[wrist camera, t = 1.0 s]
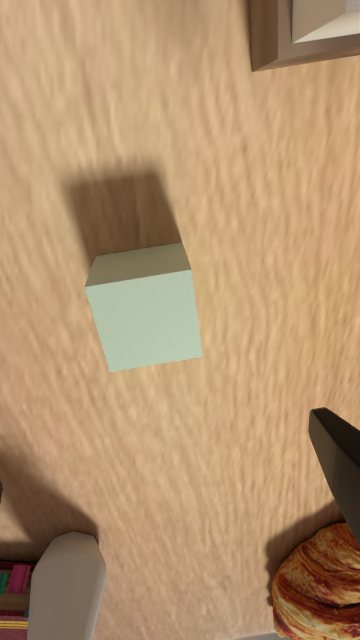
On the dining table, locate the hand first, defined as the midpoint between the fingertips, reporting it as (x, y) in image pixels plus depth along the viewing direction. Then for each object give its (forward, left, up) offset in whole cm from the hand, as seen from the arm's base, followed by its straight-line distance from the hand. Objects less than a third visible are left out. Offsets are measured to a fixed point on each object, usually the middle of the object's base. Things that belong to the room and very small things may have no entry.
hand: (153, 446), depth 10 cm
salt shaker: (+11, +23, -11) cm, 27 cm away
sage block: (0, 0, -11) cm, 11 cm away
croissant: (-11, +33, -11) cm, 36 cm away
